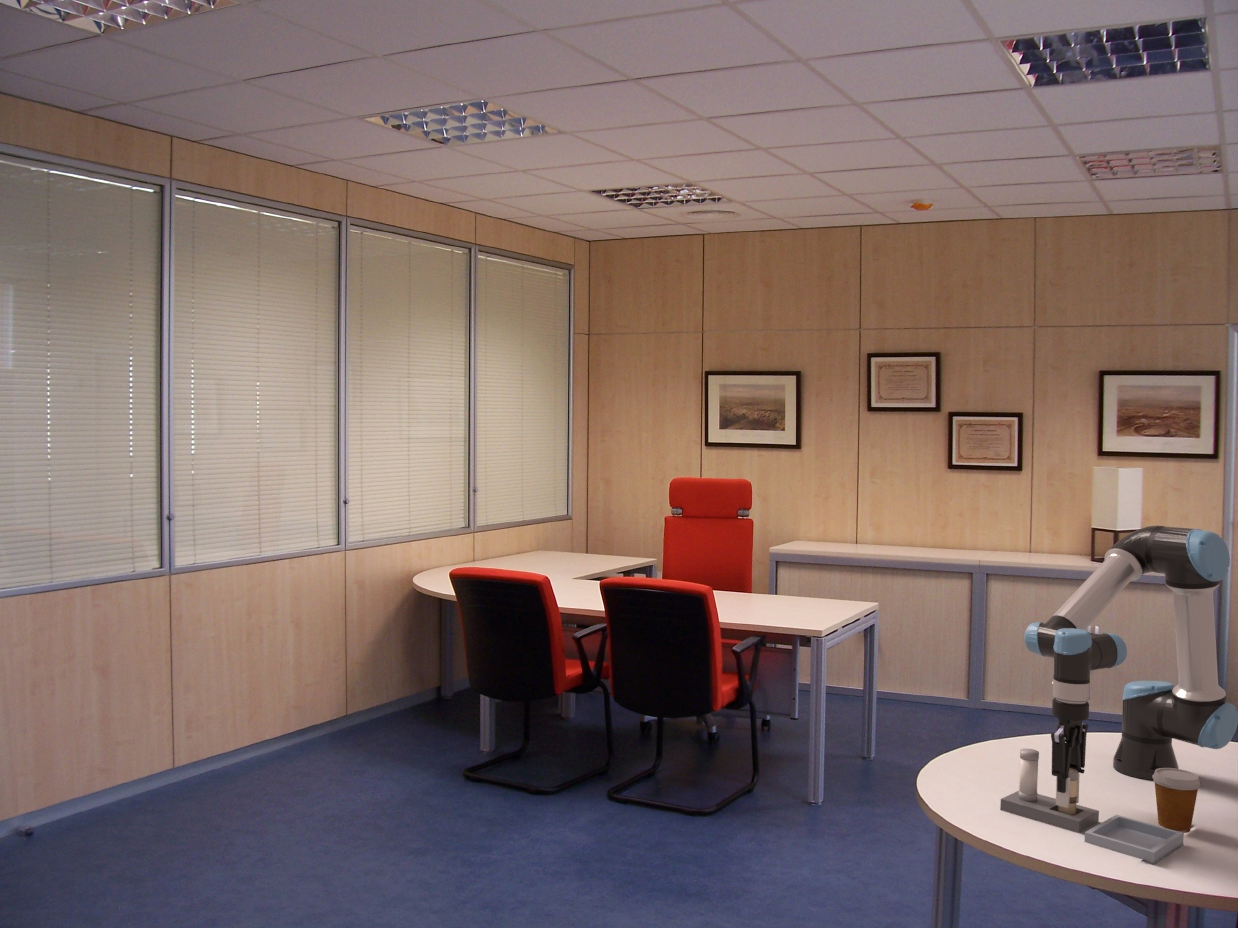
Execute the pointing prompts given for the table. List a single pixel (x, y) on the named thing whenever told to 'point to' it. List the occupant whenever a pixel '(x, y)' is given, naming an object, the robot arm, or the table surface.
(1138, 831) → the parts tray
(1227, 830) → the table surface
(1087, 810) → the grey slotted block
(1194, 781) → the disposable coffee cup
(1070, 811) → the fuse
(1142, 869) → the table surface
